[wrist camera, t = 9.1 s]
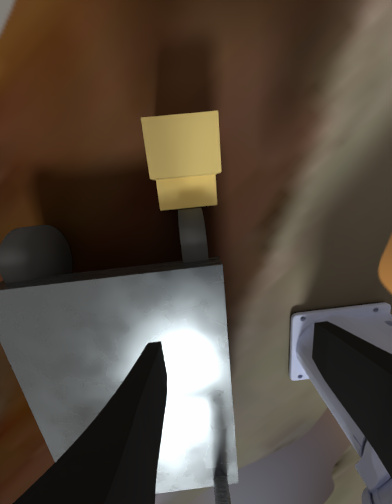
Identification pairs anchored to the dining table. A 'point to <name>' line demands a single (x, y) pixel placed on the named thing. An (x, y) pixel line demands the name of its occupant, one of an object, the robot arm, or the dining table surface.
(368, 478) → the robot arm
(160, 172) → the yellow cube-like block
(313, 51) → the dining table surface
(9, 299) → the trolley
